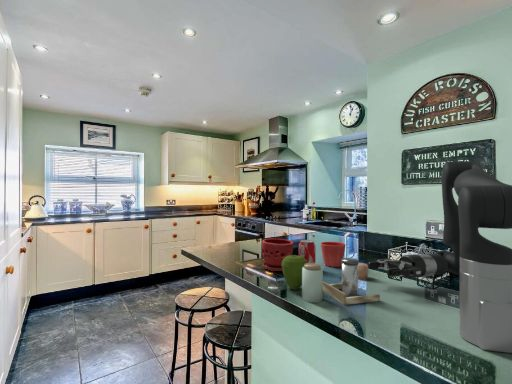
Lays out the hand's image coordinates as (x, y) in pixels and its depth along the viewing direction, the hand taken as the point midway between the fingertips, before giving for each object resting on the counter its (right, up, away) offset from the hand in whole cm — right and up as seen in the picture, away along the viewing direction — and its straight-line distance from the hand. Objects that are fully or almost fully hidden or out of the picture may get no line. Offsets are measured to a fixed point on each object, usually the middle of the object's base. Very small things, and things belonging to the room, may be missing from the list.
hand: (378, 268), depth 88 cm
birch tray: (-10, -7, -3) cm, 13 cm away
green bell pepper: (-27, -7, +2) cm, 28 cm away
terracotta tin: (0, -8, +16) cm, 18 cm away
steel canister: (-10, -7, -3) cm, 13 cm away
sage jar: (-23, -7, -6) cm, 24 cm away
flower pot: (-5, -8, +35) cm, 36 cm away
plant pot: (-30, -8, +26) cm, 41 cm away
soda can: (-18, -8, +26) cm, 33 cm away
